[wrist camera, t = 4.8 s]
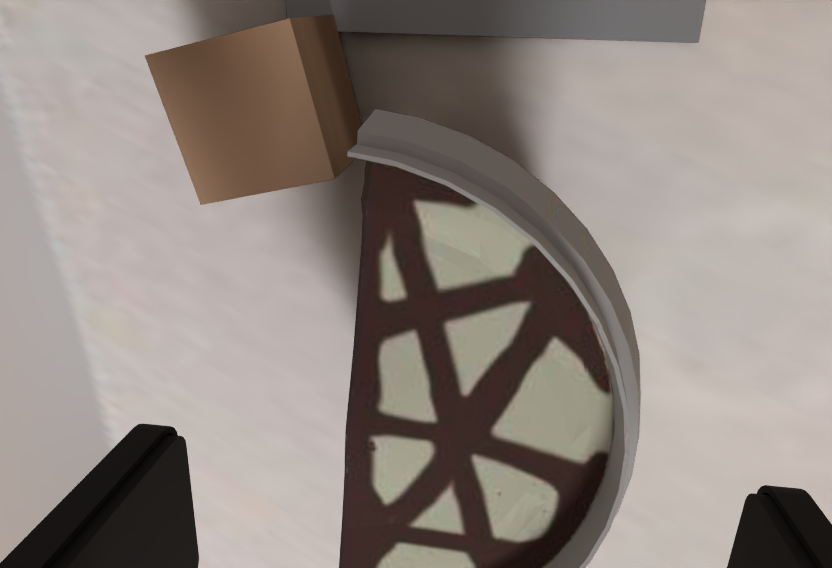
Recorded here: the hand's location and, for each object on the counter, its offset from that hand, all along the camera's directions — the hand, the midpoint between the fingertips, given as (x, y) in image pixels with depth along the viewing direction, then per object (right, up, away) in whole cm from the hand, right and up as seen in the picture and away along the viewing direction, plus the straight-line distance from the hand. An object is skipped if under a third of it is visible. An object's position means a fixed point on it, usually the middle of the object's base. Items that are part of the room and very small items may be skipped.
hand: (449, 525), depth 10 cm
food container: (+2, +4, +11) cm, 12 cm away
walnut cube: (-4, +10, +9) cm, 14 cm away
